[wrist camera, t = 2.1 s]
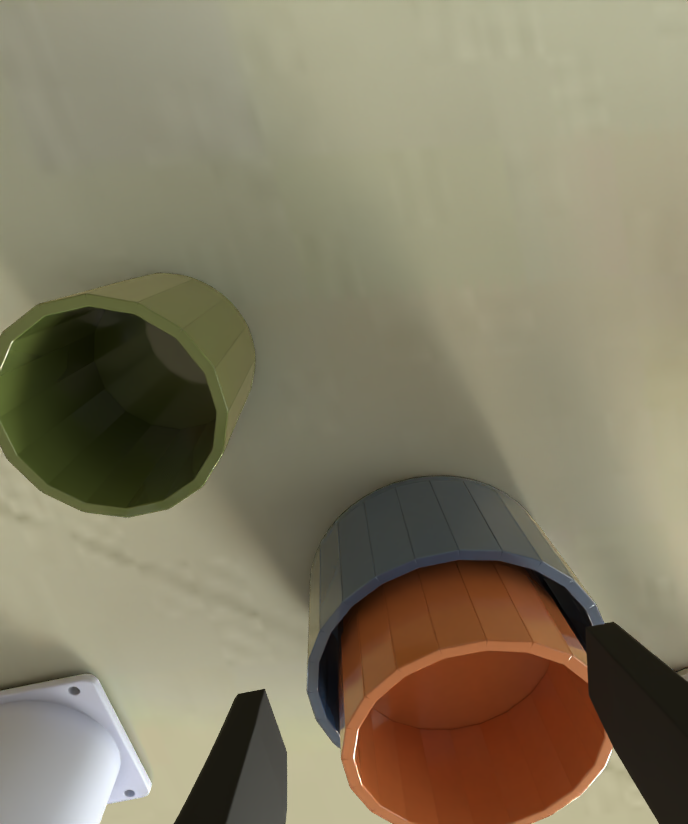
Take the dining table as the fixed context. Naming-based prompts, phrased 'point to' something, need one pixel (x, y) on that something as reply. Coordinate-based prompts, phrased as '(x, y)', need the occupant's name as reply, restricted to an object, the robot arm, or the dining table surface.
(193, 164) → the dining table surface
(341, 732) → the stack mid
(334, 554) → the stack big
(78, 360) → the olive cup
